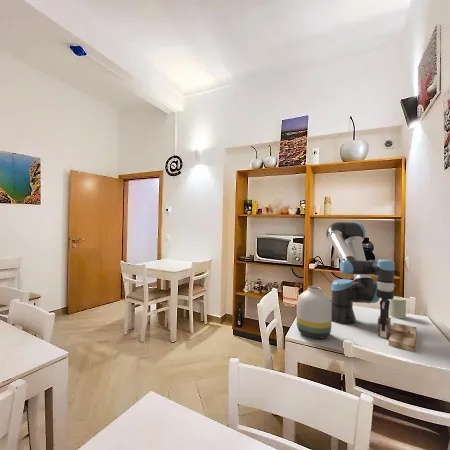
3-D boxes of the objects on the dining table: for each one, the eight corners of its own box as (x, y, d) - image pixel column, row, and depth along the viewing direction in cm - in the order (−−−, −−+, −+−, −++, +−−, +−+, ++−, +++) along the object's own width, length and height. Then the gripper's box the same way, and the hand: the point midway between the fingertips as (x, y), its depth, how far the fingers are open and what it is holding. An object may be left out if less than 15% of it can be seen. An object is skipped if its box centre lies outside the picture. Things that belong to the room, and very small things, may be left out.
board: (388, 345, 124) (388, 339, 124) (393, 327, 147) (393, 322, 147) (414, 351, 118) (414, 345, 118) (416, 331, 141) (416, 327, 141)
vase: (331, 344, 124) (332, 293, 124) (294, 338, 130) (295, 289, 130) (330, 330, 140) (331, 285, 140) (297, 326, 146) (298, 282, 146)
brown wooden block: (377, 336, 134) (377, 318, 134) (379, 332, 138) (379, 315, 138) (413, 344, 125) (414, 325, 125) (414, 341, 129) (414, 322, 129)
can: (405, 315, 166) (405, 296, 165) (406, 320, 158) (406, 300, 158) (388, 313, 170) (388, 294, 170) (388, 317, 163) (388, 297, 163)
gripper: (391, 294, 125) (390, 343, 125) (395, 288, 140) (394, 331, 140) (373, 292, 130) (372, 339, 130) (379, 285, 144) (378, 328, 144)
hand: (384, 335), depth 135 cm, fingers closed on brown wooden block, 5 cm apart
